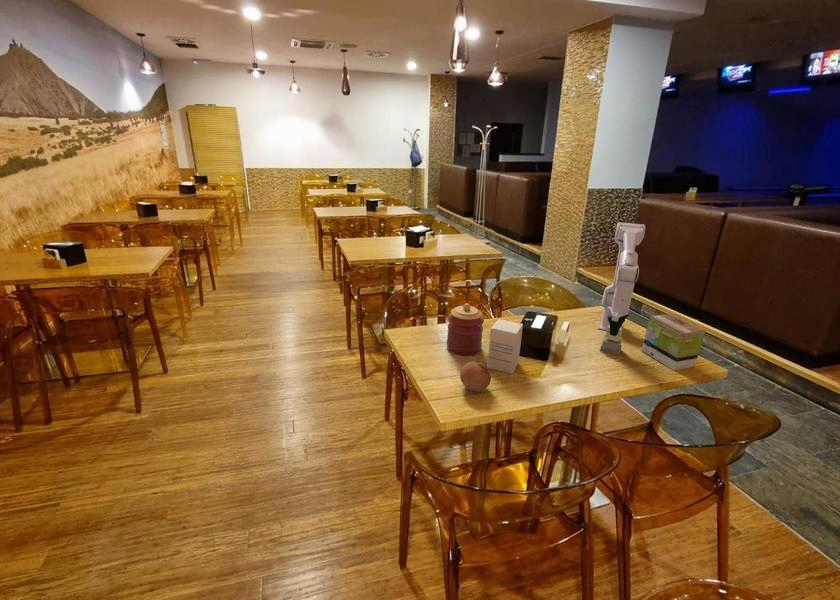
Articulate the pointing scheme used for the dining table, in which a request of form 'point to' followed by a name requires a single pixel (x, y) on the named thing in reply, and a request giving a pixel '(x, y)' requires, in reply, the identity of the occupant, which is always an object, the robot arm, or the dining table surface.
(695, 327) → the tea box
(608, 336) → the sage block
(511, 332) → the supplement box
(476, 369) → the onion
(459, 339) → the canister
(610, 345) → the slab top
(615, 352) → the slab bottom
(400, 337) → the dining table surface
